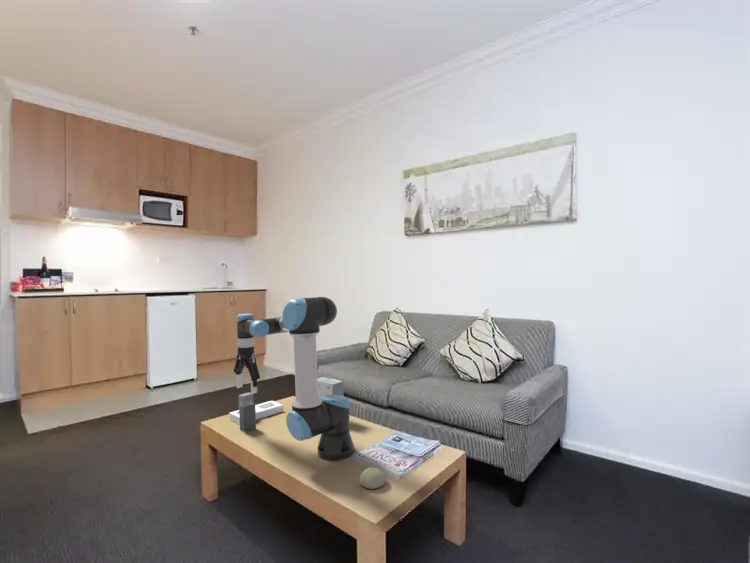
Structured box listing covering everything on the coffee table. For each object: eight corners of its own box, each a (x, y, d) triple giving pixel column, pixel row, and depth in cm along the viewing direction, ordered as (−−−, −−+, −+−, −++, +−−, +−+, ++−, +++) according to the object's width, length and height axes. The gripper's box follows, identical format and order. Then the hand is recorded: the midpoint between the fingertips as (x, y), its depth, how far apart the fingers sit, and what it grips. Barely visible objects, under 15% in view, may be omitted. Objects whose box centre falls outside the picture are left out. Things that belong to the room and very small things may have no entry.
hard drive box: (344, 420, 198) (344, 381, 197) (333, 425, 192) (332, 384, 191) (324, 413, 208) (323, 376, 207) (312, 417, 202) (312, 379, 201)
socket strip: (283, 411, 212) (282, 388, 212) (240, 425, 194) (239, 399, 194) (272, 406, 220) (271, 384, 219) (229, 419, 202) (228, 395, 201)
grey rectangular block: (255, 428, 190) (255, 403, 189) (244, 432, 185) (243, 407, 185) (251, 426, 192) (250, 401, 192) (239, 430, 188) (239, 405, 188)
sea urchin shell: (385, 470, 144) (385, 462, 139) (385, 494, 139) (385, 487, 133) (360, 470, 145) (359, 462, 139) (359, 493, 139) (358, 486, 133)
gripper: (267, 348, 182) (267, 394, 183) (240, 341, 199) (240, 383, 200) (252, 351, 176) (253, 398, 177) (225, 344, 193) (226, 386, 194)
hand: (246, 390), depth 188 cm, fingers open, 13 cm apart
